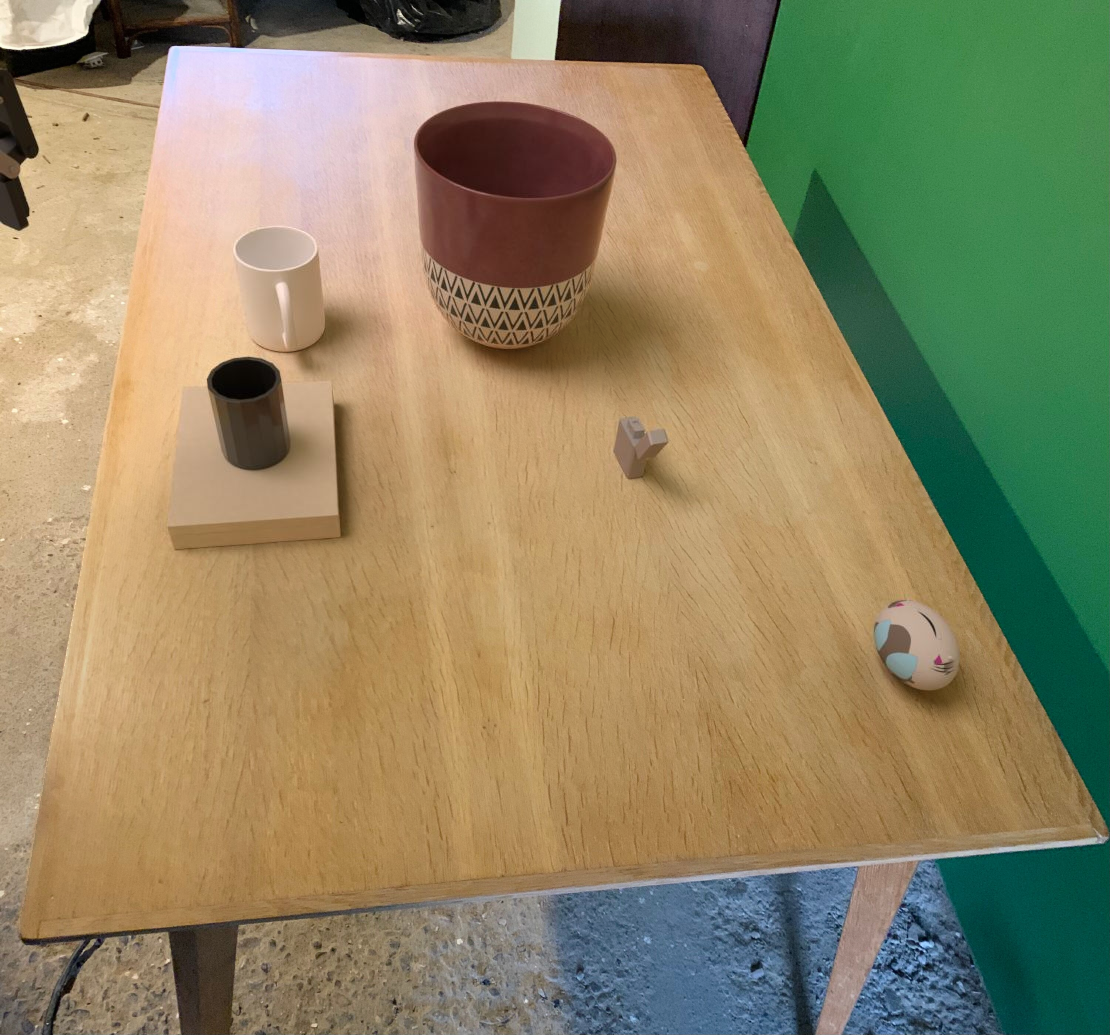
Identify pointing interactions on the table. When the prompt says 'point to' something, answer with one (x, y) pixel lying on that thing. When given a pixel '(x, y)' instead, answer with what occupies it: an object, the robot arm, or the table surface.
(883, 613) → the figurine
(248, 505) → the plate
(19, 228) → the robot arm
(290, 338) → the cup
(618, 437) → the grey blocky piece
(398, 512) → the table surface
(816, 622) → the table surface
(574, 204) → the planter
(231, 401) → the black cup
